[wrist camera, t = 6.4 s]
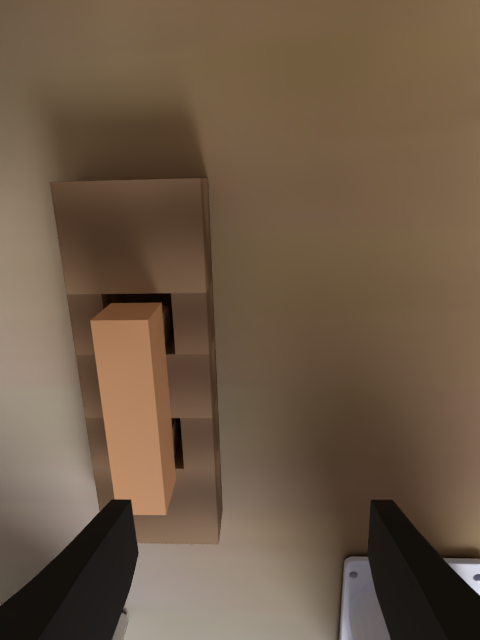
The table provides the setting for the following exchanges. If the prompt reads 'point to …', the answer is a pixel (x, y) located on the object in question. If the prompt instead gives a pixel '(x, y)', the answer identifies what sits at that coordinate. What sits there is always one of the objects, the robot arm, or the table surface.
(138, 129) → the table surface
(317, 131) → the table surface
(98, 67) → the table surface
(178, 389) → the rail
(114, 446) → the tan wooden block
